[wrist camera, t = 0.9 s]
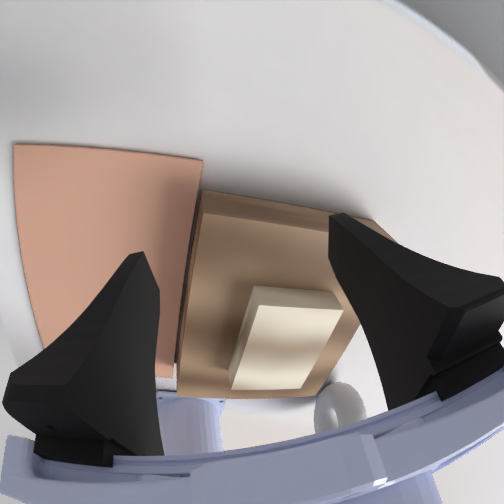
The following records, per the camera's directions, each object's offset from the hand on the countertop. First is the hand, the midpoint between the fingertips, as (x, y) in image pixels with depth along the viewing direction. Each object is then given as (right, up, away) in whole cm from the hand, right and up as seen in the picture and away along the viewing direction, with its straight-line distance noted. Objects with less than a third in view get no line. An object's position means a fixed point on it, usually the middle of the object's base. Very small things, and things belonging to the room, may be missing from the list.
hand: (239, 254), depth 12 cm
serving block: (+2, -4, +15) cm, 15 cm away
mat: (-12, -3, +11) cm, 16 cm away
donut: (+10, -18, +25) cm, 32 cm away
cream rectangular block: (+2, -6, +11) cm, 13 cm away
